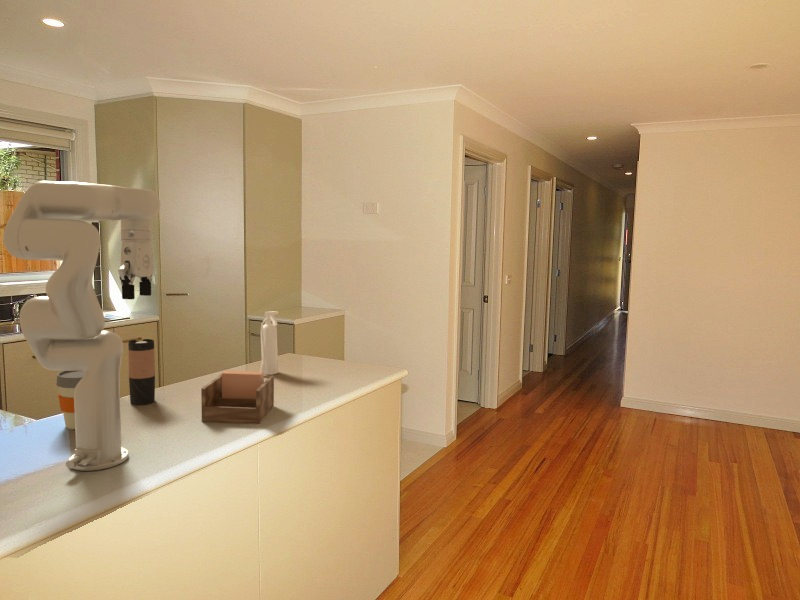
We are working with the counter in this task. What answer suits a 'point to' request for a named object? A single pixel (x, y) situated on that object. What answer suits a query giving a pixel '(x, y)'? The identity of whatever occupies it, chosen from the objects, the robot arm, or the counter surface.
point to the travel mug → (141, 371)
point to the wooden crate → (236, 404)
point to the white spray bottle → (269, 344)
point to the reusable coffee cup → (68, 394)
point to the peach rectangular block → (241, 384)
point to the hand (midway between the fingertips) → (137, 297)
